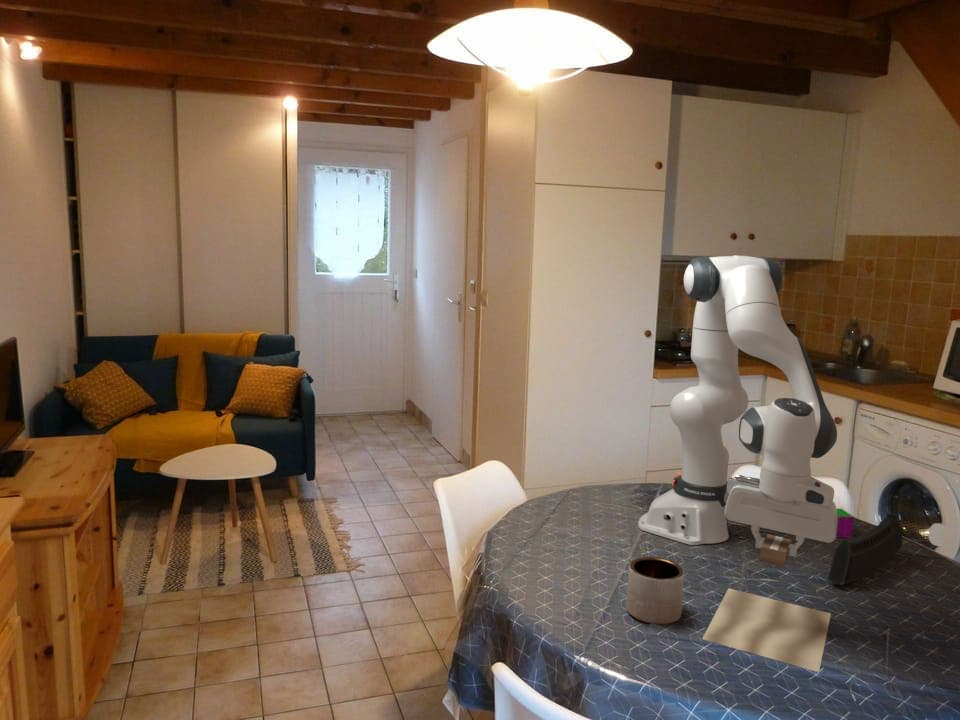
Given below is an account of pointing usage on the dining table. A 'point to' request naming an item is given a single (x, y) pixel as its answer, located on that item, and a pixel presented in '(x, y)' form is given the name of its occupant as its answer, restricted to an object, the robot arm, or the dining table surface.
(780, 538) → the brown small block
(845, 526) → the puzzle toy
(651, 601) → the planter
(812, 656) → the cork mat
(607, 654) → the dining table surface
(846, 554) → the dark grey curved slab
